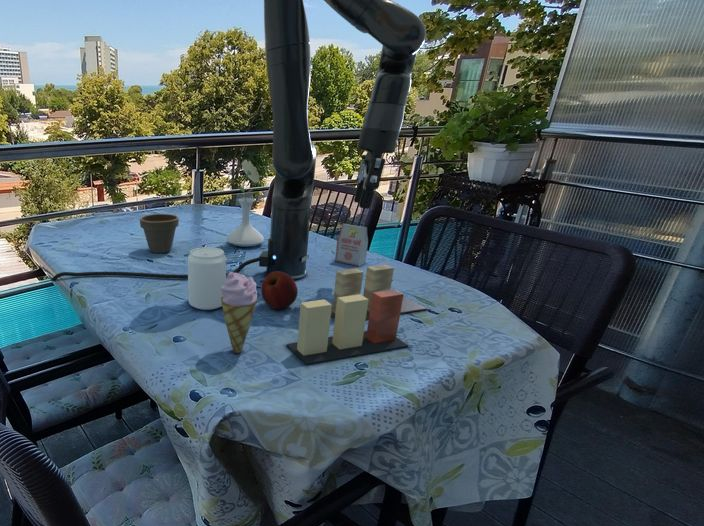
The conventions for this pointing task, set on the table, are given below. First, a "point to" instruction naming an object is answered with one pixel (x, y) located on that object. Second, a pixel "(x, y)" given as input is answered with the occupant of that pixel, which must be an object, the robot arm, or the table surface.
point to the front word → (336, 331)
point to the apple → (279, 290)
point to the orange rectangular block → (384, 316)
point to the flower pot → (159, 231)
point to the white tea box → (352, 245)
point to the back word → (368, 286)
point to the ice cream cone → (238, 307)
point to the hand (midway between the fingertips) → (361, 205)
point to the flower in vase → (246, 215)
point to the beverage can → (206, 277)
